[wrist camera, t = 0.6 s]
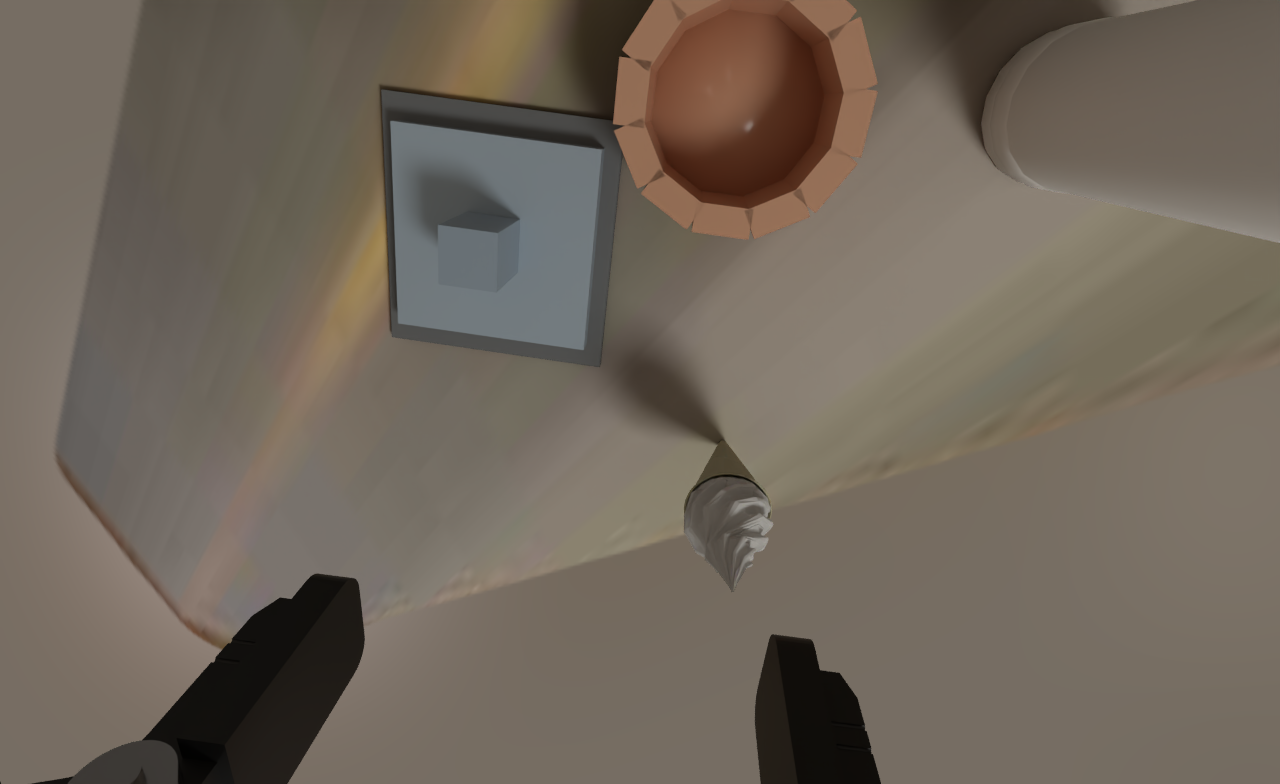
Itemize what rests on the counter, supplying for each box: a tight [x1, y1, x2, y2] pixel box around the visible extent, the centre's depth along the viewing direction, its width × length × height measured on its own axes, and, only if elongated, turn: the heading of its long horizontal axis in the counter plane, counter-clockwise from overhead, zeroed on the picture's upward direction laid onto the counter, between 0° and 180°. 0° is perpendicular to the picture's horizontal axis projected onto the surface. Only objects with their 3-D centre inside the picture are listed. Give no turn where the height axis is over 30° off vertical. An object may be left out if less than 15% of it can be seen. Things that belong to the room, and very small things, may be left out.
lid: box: [390, 120, 605, 350], centre depth 37 cm, size 12×12×6 cm
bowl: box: [613, 0, 878, 240], centre depth 33 cm, size 12×12×6 cm
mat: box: [381, 89, 624, 367], centre depth 39 cm, size 15×14×1 cm
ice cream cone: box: [684, 440, 773, 592], centre depth 37 cm, size 5×5×15 cm
